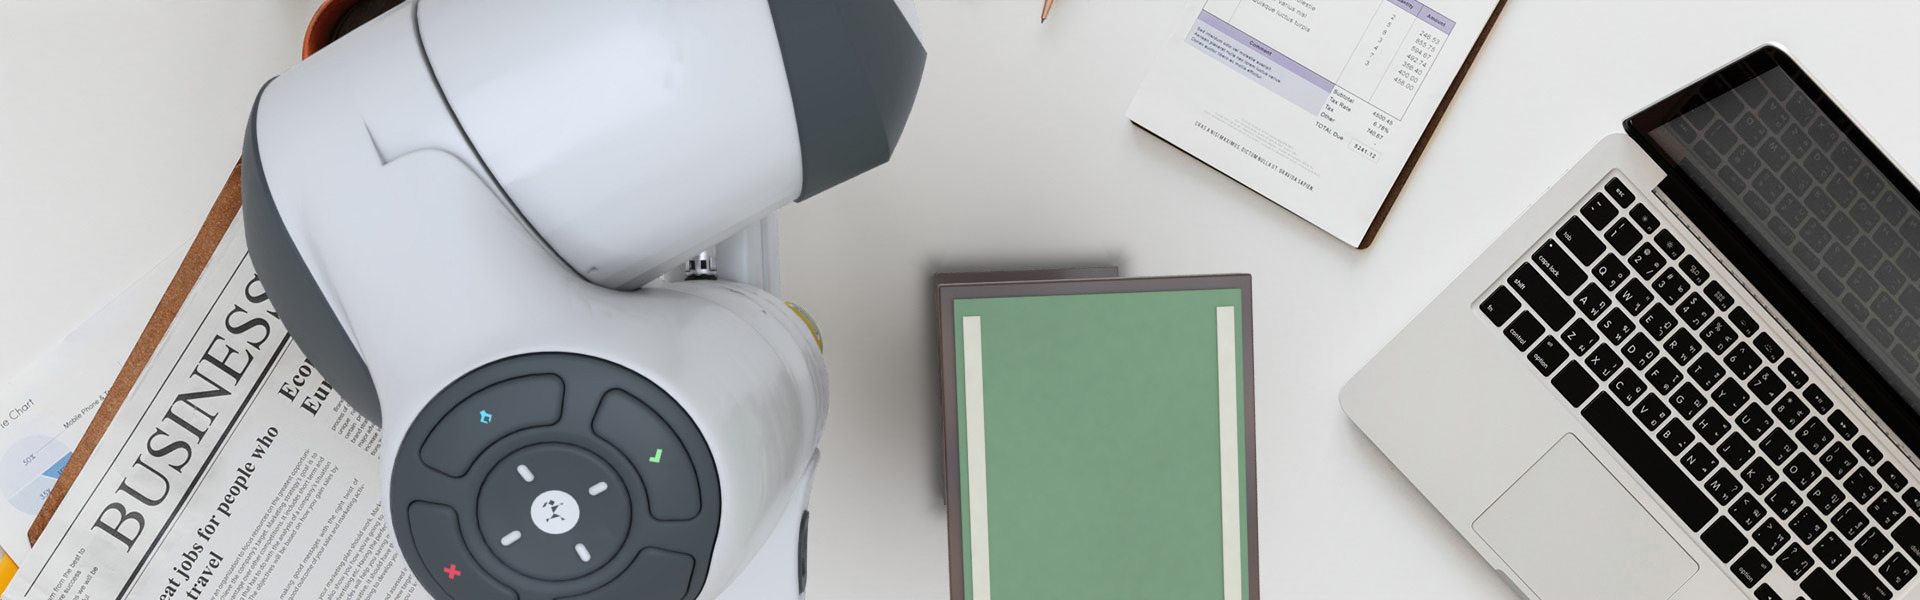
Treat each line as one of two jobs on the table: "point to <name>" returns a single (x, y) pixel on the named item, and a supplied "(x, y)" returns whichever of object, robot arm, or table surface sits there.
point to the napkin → (1102, 446)
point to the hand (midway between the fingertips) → (760, 358)
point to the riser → (1071, 284)
